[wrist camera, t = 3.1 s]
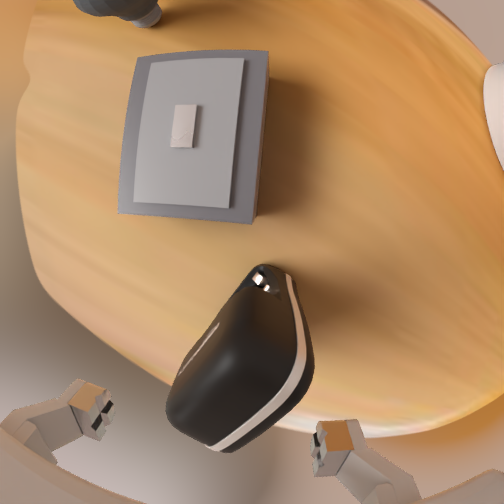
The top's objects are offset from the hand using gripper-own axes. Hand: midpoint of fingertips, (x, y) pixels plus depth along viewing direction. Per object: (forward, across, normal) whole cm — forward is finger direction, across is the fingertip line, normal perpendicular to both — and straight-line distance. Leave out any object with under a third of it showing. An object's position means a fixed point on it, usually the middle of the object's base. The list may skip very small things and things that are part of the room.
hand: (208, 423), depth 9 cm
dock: (+11, +3, -12) cm, 17 cm away
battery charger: (+12, -1, -1) cm, 12 cm away
